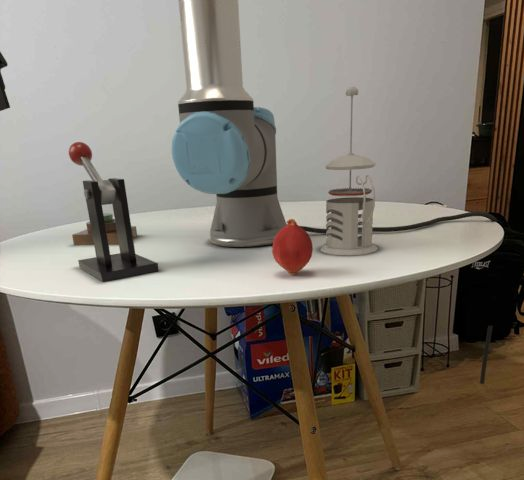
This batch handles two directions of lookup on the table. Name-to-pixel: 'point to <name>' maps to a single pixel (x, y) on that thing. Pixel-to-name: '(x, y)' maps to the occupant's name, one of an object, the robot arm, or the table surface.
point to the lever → (92, 171)
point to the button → (108, 217)
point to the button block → (87, 238)
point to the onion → (292, 247)
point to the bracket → (126, 260)
